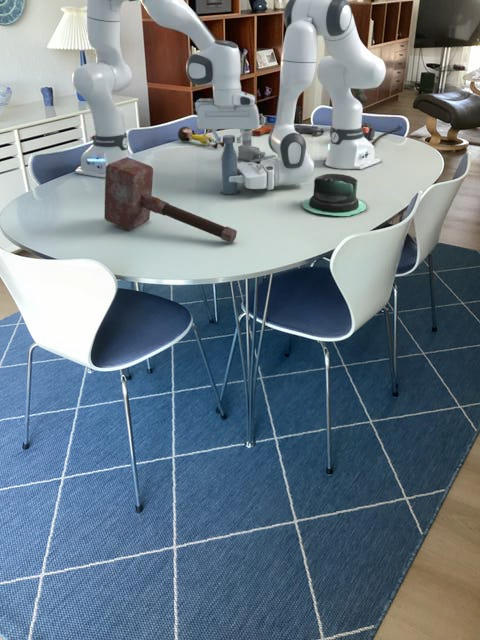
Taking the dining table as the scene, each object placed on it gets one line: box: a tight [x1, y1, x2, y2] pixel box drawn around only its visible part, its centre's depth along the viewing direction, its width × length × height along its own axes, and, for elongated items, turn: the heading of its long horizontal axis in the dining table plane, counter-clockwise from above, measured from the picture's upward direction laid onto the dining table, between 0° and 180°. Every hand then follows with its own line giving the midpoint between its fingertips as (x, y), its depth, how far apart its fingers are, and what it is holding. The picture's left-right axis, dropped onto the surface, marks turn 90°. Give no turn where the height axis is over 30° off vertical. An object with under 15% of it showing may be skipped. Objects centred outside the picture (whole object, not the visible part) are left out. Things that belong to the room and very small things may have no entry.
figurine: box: [177, 126, 225, 150], centre depth 251 cm, size 13×8×25 cm
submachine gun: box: [252, 122, 325, 137], centre depth 263 cm, size 32×3×25 cm
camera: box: [237, 129, 277, 163], centre depth 222 cm, size 9×12×15 cm
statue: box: [350, 88, 368, 108], centre depth 262 cm, size 11×9×30 cm
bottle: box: [220, 143, 239, 195], centre depth 186 cm, size 5×5×18 cm
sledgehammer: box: [103, 157, 238, 244], centre depth 155 cm, size 17×10×40 cm
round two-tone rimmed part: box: [301, 173, 367, 217], centre depth 174 cm, size 15×19×20 cm
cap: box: [222, 134, 236, 144], centre depth 181 cm, size 4×4×2 cm
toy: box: [361, 122, 376, 142], centre depth 244 cm, size 9×9×15 cm
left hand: (228, 142), depth 182 cm, fingers open, 5 cm apart
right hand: (226, 176), depth 187 cm, fingers closed on bottle, 5 cm apart
